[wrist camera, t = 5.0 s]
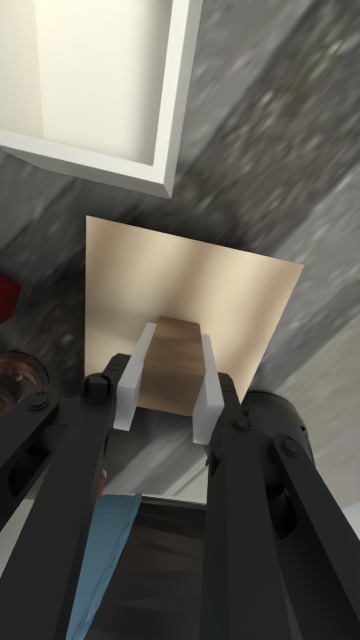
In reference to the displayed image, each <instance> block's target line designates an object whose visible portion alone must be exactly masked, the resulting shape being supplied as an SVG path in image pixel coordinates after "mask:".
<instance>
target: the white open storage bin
mask: <svg viewBox="0 0 360 640" xmlns="http://www.w3.org/2000/svg"><path fill="white" fill-rule="evenodd" d="M202 4H203V0H0V150H2V151H4V152H6V153H8V154H11V155H13V156H15V157H17V158H20V159H22V160H24V161H26V162H28V163H31V164H33V165H35V166H37V167H40V168H42V169H45V170H49V171H53V172H57V173H62V174H66V175H70V176H74V177H79V178H83V179H87V180H91V181H95V182H100V183H104V184H108V185H112V186H117V187H121V188H125V189H129V190H134V191H138V192H142V193H146V194H150V195H155V196H159V197H163V198H167V199H171V196H172V190H173V184H174V178H175V171H176V165H177V159H178V153H179V147H180V140H181V134H182V128H183V122H184V116H185V109H186V103H187V97H188V91H189V84H190V78H191V72H192V66H193V60H194V53H195V47H196V41H197V35H198V28H199V22H200V16H201V10H202Z"/></svg>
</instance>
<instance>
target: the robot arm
mask: <svg viewBox="0 0 360 640" xmlns="http://www.w3.org/2000/svg"><path fill="white" fill-rule="evenodd" d="M156 326H157V324H154V323H149V322H148V323H147V325H146V327H145V329H144V331H143V333H142V335H141V337H140V339H139V341H138V343H137V346H136V348H135V350H134V352H133V354H132V355H127V354H122V353H117V354H116V355H114V356H113V357H112V358H111V359H110V361H109V363H108V364H107V366H106V367H105V369H104V370H103V372H101V373H93V374H90V375H88V376H86V377H85V378H84V379H83V380H82V381H81V396H78V397H72V398H60V399H59V397H58V395H57V394H56V393H55V392H53V391H49V390H42V391H37V392H34V393H32V394H29V395H28V396H26V397H25V398H23V399H22V400H21V401H20V402H19V403H17V404H16V405H15V406H14V407H13V408H12V409H11V410H9V411H8V412H7V413H6V414H5V415H4V416H3V417H1V418H0V532H1V530H2V529H3V527H4V526H5V525H6V523H7V522H8V520H9V519H10V518H11V516H12V515H13V513H14V512H15V510H16V509H17V507H18V506H19V505H20V503H21V502H22V500H23V499H24V498H25V496H26V495H27V493H28V492H29V490H30V489H31V488H32V486H33V485H34V483H35V482H36V480H37V479H38V478H39V476H40V475H41V473H42V472H43V470H44V469H45V468H46V466H47V465H48V463H49V462H50V460H51V459H52V458H53V456H54V455H55V456H54V458H53V461H52V463H51V465H50V467H49V470H48V472H47V474H46V476H45V479H44V481H43V483H42V485H41V488H40V490H39V492H38V494H37V497H36V499H35V501H34V503H33V506H32V508H31V510H30V512H29V515H28V517H27V519H26V522H25V524H24V526H23V528H22V530H21V533H20V535H19V537H18V539H17V542H16V544H15V547H14V548H13V551H12V553H11V555H10V557H9V560H8V562H7V564H6V567H5V569H4V571H3V573H2V576H1V578H0V640H360V540H359V539H358V537H357V535H356V534H355V532H354V530H353V529H352V527H351V525H350V524H349V522H348V521H347V519H346V517H345V516H344V514H343V512H342V511H341V509H340V507H339V506H338V504H337V502H336V501H335V499H334V498H333V496H332V494H331V493H330V491H329V489H328V488H327V486H326V484H325V483H324V481H323V479H322V478H321V476H320V475H319V473H318V471H317V470H316V466H315V462H314V458H313V453H312V449H311V445H310V442H309V439H308V432H307V428H306V426H305V424H304V422H303V420H302V418H301V417H300V415H299V414H298V412H297V410H296V409H295V408H294V406H293V405H292V404H290V403H289V402H288V401H286V400H284V399H283V398H280V397H278V396H275V395H272V394H267V393H246V394H245V396H244V398H243V400H242V403H241V405H240V402H239V398H238V395H237V394H236V393H237V392H236V389H235V386H234V382H233V380H232V378H231V377H230V376H229V375H228V374H226V373H221V372H217V368H216V363H215V359H214V354H213V349H212V345H211V340H210V335H207V334H202V333H201V338H202V346H203V354H204V361H205V369H206V374H205V376H204V380H203V383H202V386H201V389H200V392H199V395H198V398H197V401H196V404H195V407H194V410H193V413H192V415H193V443H199V444H203V446H204V449H205V452H206V455H207V457H208V458H207V460H206V464H205V465H206V466H208V464H209V471H208V488H207V504H203V503H195V502H186V501H179V500H171V499H163V498H155V497H147V496H142V494H140V493H138V494H135V495H104V496H101V497H99V498H98V499H96V498H97V494H98V489H99V485H100V480H101V476H102V471H103V466H104V462H105V457H106V453H107V448H108V443H109V439H110V430H111V428H112V426H113V428H115V429H121V430H127V431H129V429H130V425H131V422H132V419H133V416H134V412H135V409H136V406H137V402H138V396H139V390H140V384H141V377H142V371H143V365H144V364H143V362H144V358H145V356H146V353H147V350H148V347H149V345H150V342H151V339H152V337H153V334H154V331H155V328H156ZM113 423H114V425H113ZM55 453H56V454H55Z"/></svg>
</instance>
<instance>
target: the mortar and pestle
mask: <svg viewBox="0 0 360 640" xmlns="http://www.w3.org/2000/svg"><path fill="white" fill-rule="evenodd" d="M47 385H48V378H47V374H46V372H45V370H44V367H43V366H42V365H41V364H40V363H39V362H37V361H36V359H34V358H33V357H31V356H29V355H25V354H22V353H13V352H9V353H5V354H2V355H1V356H0V418H1V417H3V416H4V415H5V414H6V413H7V412H8V411H9V410H11V409H12V408H13V407H14V406H15V405H16V404H17V403H18V401H19V400H20V399H23V398H25V397H26V396H28V395H29V394H32V393H34V392H37V391H42V390H45V388H46V387H47Z"/></svg>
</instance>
